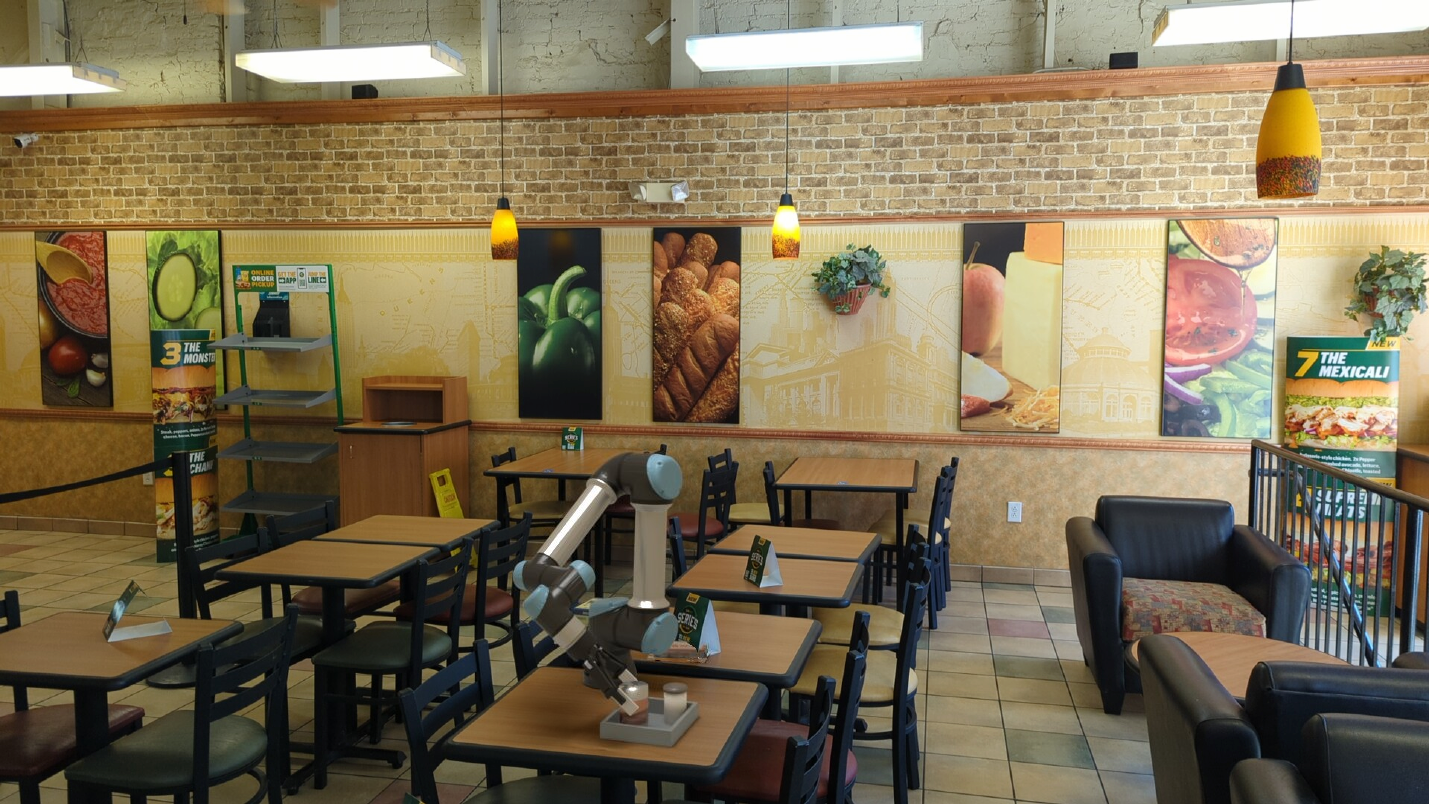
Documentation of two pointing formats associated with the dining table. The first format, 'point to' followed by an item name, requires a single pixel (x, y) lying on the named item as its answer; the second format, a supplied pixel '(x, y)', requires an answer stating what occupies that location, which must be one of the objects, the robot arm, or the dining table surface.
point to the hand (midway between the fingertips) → (637, 701)
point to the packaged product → (683, 651)
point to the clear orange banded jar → (640, 697)
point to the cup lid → (675, 688)
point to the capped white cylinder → (674, 707)
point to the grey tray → (657, 728)
